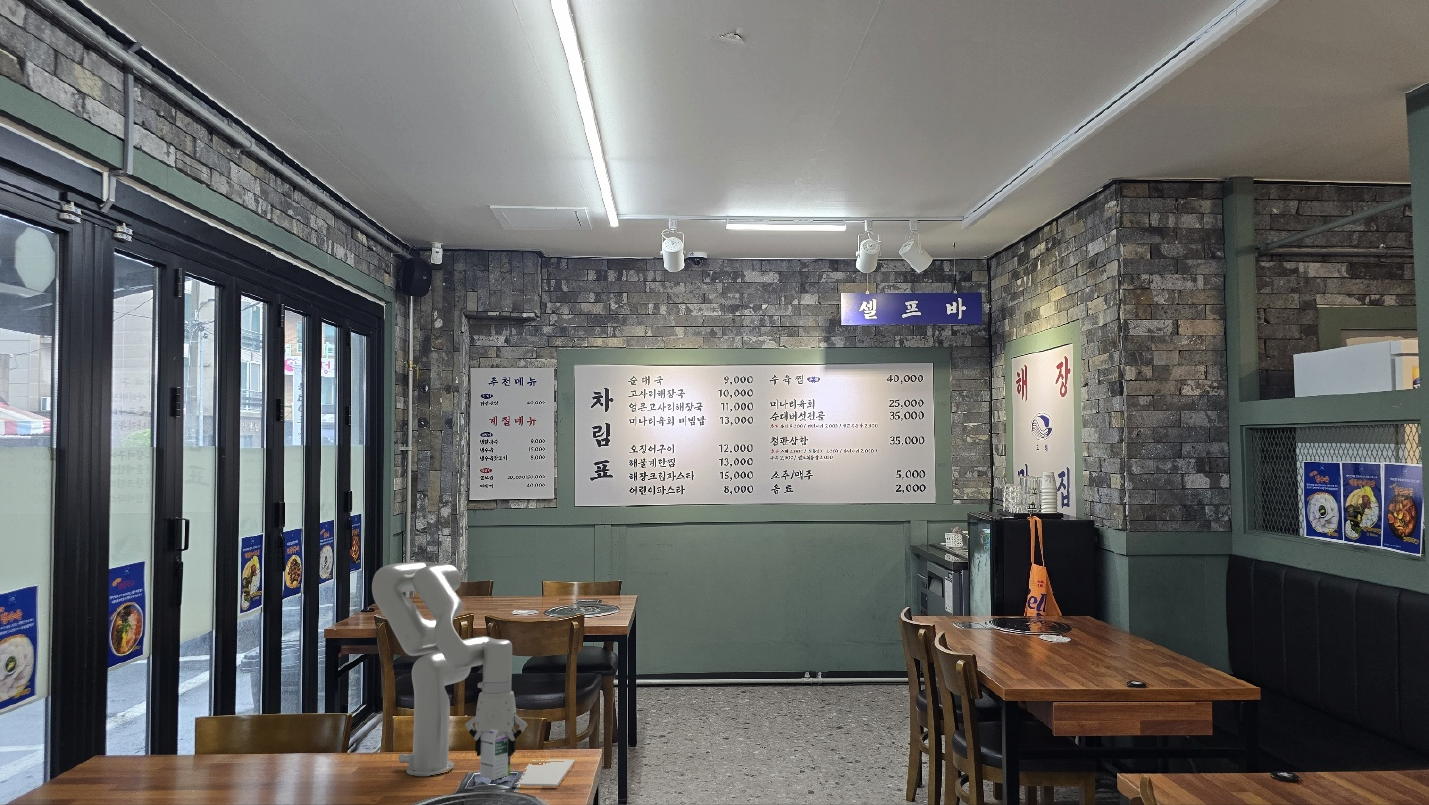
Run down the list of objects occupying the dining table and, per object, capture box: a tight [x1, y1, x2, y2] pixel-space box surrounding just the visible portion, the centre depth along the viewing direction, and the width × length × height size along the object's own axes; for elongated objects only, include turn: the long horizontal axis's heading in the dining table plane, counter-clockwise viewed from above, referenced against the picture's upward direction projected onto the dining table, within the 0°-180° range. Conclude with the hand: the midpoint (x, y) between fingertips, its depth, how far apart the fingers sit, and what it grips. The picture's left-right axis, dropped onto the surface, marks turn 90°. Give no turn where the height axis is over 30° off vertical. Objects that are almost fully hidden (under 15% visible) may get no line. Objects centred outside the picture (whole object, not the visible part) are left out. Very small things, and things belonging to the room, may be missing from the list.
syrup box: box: [479, 728, 511, 780], centre depth 236 cm, size 6×6×14 cm
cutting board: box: [515, 758, 576, 786], centre depth 241 cm, size 12×22×1 cm, turn 177°
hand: (495, 754), depth 236 cm, fingers closed on syrup box, 7 cm apart
